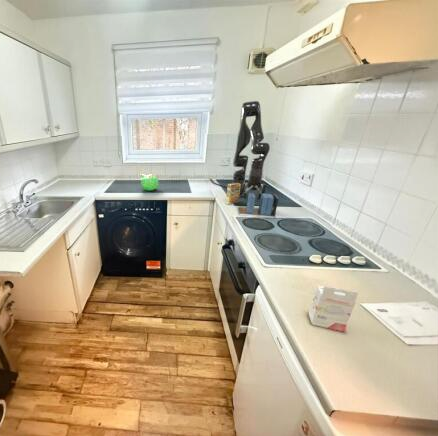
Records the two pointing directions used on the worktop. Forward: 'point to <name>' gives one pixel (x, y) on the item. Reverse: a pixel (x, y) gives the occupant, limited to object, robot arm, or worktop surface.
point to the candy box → (233, 193)
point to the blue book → (250, 203)
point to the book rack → (256, 212)
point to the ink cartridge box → (332, 307)
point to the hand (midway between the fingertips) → (251, 198)
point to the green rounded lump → (149, 182)
